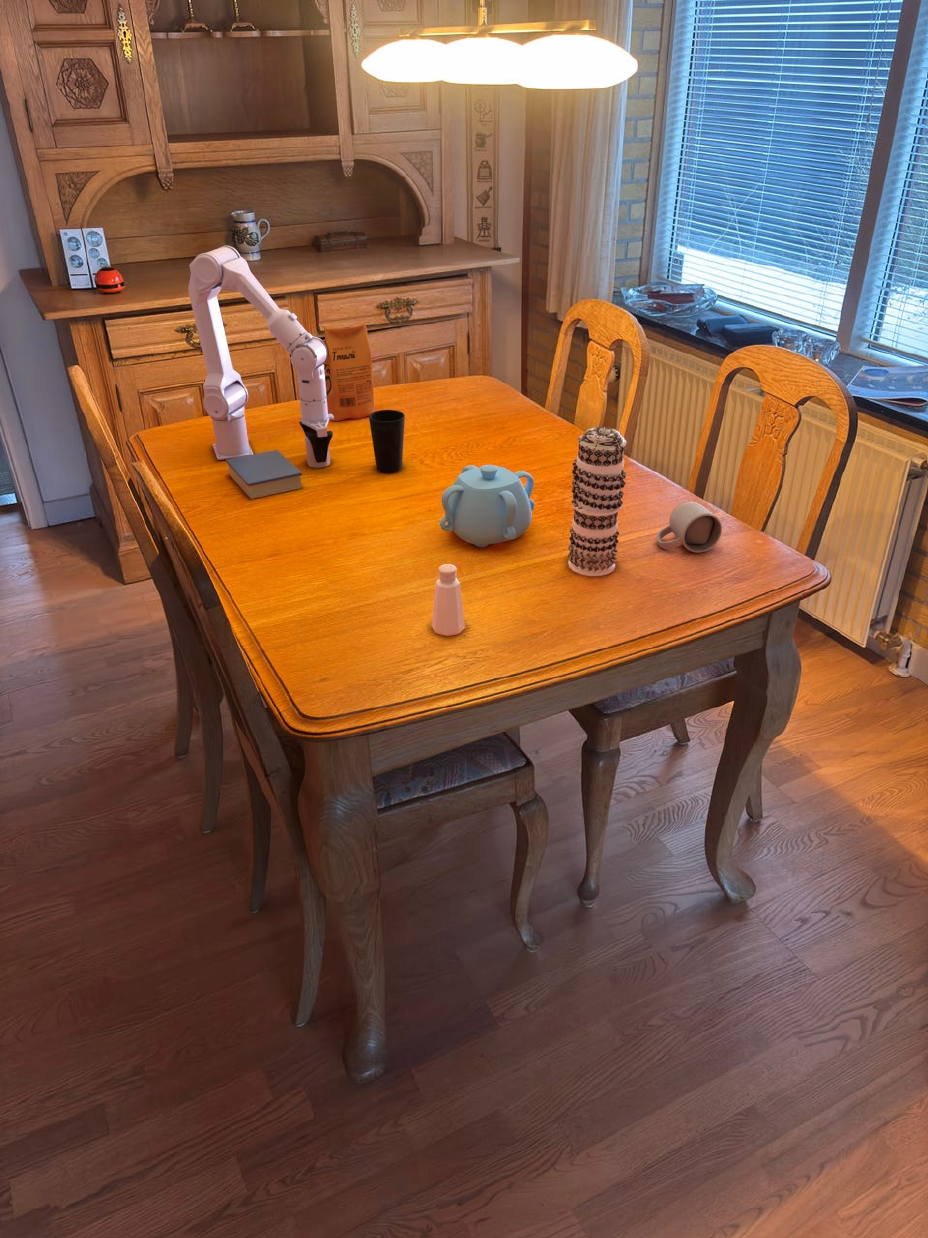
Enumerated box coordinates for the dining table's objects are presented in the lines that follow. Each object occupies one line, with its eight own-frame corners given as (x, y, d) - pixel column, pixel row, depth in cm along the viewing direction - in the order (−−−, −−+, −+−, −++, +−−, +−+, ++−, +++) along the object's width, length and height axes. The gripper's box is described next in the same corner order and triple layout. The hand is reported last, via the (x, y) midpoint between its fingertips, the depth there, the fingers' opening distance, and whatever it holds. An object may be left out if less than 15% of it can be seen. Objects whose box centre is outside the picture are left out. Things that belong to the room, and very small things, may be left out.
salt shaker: (450, 614, 153) (449, 555, 147) (472, 628, 149) (472, 568, 143) (424, 626, 150) (422, 566, 144) (446, 640, 146) (445, 579, 140)
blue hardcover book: (227, 475, 201) (225, 459, 199) (278, 464, 206) (277, 449, 204) (250, 499, 191) (247, 483, 189) (303, 488, 195) (301, 472, 194)
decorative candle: (555, 562, 168) (562, 430, 154) (592, 548, 172) (602, 418, 159) (590, 582, 162) (601, 446, 148) (627, 567, 166) (642, 433, 153)
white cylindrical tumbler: (305, 460, 208) (303, 435, 205) (327, 457, 210) (325, 432, 206) (310, 469, 204) (307, 443, 201) (332, 465, 206) (330, 440, 202)
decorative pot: (510, 560, 168) (513, 491, 161) (431, 543, 174) (430, 475, 167) (542, 524, 181) (545, 458, 174) (467, 509, 187) (467, 445, 179)
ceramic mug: (700, 531, 178) (705, 494, 174) (719, 550, 171) (725, 512, 167) (648, 537, 176) (652, 500, 172) (666, 557, 169) (670, 519, 165)
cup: (409, 462, 207) (407, 410, 201) (403, 475, 201) (401, 422, 195) (375, 460, 208) (372, 408, 202) (368, 474, 202) (365, 421, 195)
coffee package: (319, 410, 236) (312, 322, 224) (366, 404, 240) (361, 317, 228) (330, 423, 228) (323, 333, 216) (378, 416, 232) (374, 327, 221)
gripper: (339, 405, 194) (343, 466, 201) (323, 385, 206) (328, 443, 213) (305, 409, 192) (311, 470, 199) (292, 388, 204) (298, 447, 211)
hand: (318, 456), depth 206 cm, fingers open, 5 cm apart
